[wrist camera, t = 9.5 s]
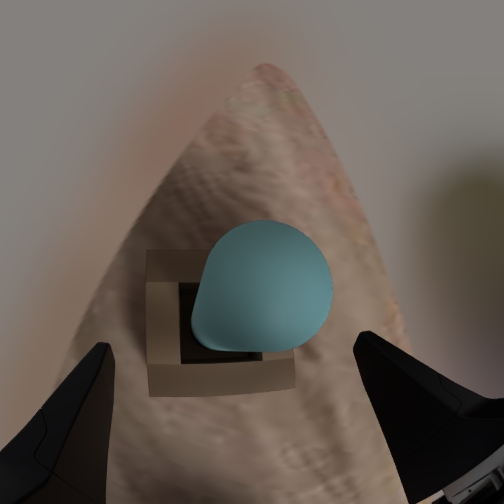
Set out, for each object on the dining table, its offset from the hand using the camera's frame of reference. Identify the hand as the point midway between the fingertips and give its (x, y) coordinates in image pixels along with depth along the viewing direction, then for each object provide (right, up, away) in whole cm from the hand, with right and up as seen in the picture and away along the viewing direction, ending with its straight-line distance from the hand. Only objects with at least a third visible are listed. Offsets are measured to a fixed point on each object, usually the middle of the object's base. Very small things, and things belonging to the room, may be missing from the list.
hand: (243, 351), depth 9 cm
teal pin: (-2, -2, +9) cm, 10 cm away
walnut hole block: (-2, -2, +10) cm, 10 cm away
